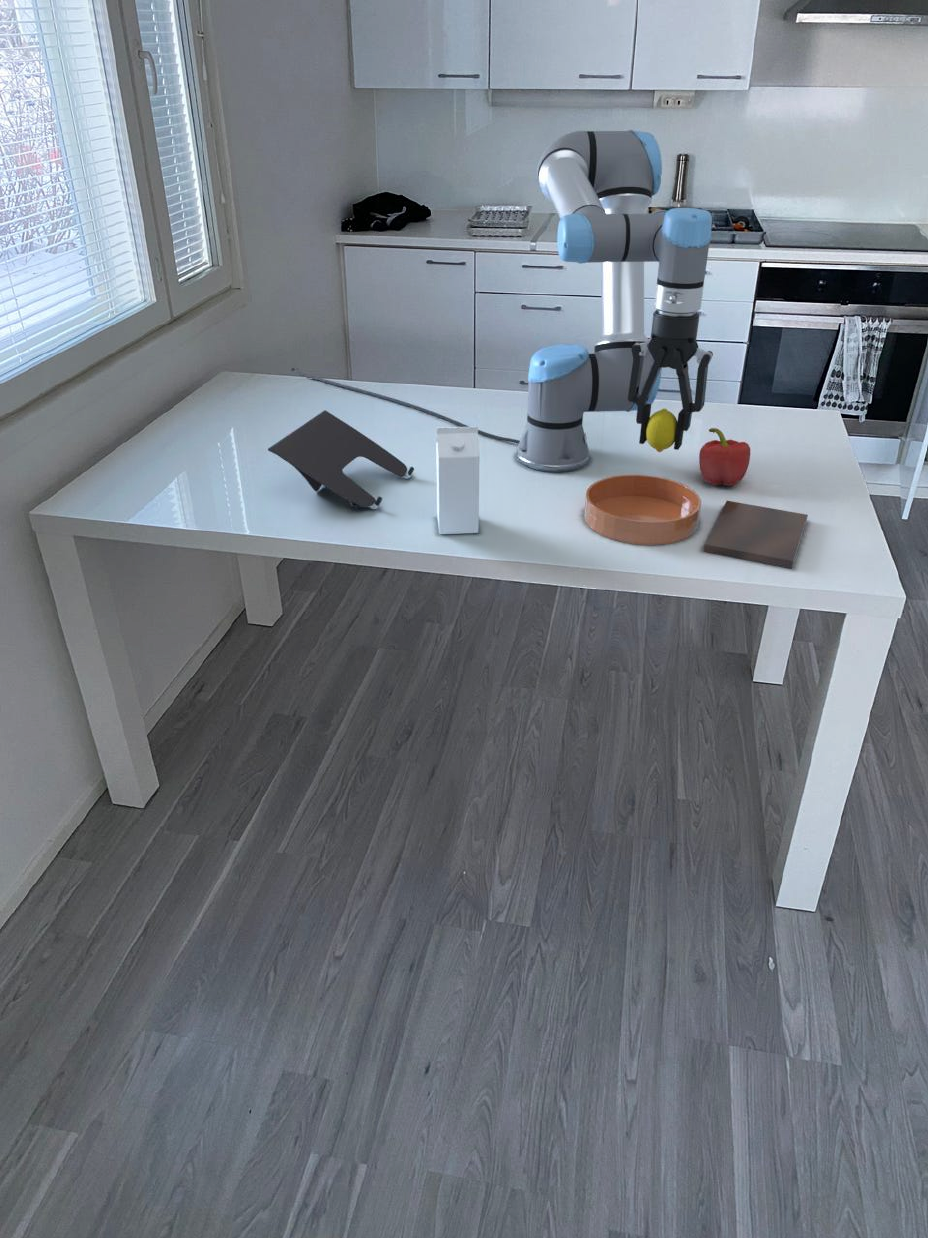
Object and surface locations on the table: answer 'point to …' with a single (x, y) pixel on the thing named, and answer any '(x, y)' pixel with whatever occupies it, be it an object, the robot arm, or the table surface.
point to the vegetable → (724, 460)
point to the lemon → (661, 430)
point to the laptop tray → (335, 456)
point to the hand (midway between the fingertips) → (660, 443)
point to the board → (757, 534)
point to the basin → (642, 509)
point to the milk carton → (457, 480)
